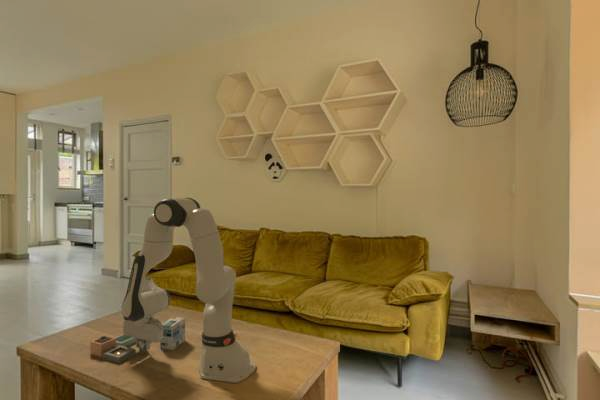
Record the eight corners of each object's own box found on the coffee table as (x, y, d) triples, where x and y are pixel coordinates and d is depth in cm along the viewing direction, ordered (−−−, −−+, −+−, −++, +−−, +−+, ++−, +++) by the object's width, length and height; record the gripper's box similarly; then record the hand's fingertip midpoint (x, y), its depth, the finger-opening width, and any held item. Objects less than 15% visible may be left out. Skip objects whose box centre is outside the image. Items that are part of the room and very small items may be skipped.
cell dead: (109, 350, 144) (109, 336, 144) (102, 354, 141) (102, 339, 141) (104, 349, 145) (104, 334, 145) (96, 352, 142) (96, 337, 142)
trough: (147, 338, 159) (147, 331, 159) (121, 350, 146) (121, 343, 146) (135, 335, 162) (135, 328, 162) (108, 347, 149) (108, 340, 149)
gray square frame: (135, 356, 141) (135, 349, 141) (118, 365, 134) (118, 357, 134) (119, 351, 145) (119, 344, 145) (101, 360, 138) (101, 352, 138)
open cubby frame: (116, 351, 145) (116, 338, 145) (101, 358, 139) (101, 344, 139) (105, 348, 148) (105, 335, 148) (90, 355, 141) (90, 341, 141)
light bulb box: (172, 350, 146) (172, 326, 146) (159, 349, 148) (159, 324, 148) (185, 340, 157) (185, 317, 157) (173, 338, 158) (173, 316, 158)
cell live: (149, 352, 144) (149, 337, 144) (142, 356, 141) (142, 340, 141) (143, 351, 146) (143, 336, 146) (137, 354, 143) (137, 339, 142)
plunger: (127, 353, 141) (127, 351, 141) (117, 358, 136) (117, 356, 136) (119, 351, 142) (119, 349, 142) (110, 356, 138) (110, 354, 138)
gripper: (167, 317, 142) (167, 349, 142) (132, 310, 150) (132, 341, 150) (155, 322, 136) (155, 356, 136) (120, 315, 144) (120, 347, 144)
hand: (143, 348), depth 143 cm, fingers closed on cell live, 3 cm apart
